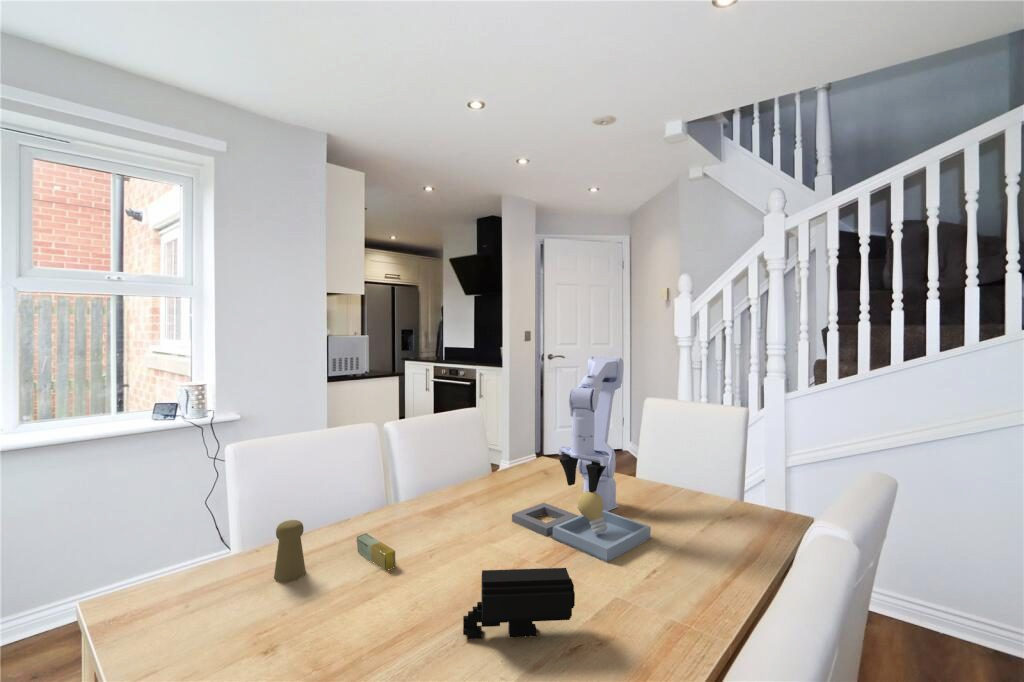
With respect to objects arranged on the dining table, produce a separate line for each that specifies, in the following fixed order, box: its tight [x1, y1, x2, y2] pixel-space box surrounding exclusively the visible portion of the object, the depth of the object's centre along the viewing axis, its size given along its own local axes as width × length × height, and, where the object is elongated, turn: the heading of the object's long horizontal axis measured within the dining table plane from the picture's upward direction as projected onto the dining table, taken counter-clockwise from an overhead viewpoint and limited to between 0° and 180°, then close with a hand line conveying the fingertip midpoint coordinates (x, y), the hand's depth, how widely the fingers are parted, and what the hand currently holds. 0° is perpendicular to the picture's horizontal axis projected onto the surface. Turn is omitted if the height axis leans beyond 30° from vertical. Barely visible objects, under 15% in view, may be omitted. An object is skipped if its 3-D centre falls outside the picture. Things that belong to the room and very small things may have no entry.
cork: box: [273, 519, 307, 583], centre depth 101 cm, size 6×6×11 cm
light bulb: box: [576, 491, 607, 534], centre depth 122 cm, size 6×6×10 cm
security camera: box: [462, 567, 576, 640], centre depth 83 cm, size 7×18×10 cm, turn 95°
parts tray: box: [552, 510, 652, 563], centre depth 120 cm, size 18×16×3 cm
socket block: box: [511, 502, 580, 538], centre depth 129 cm, size 12×12×2 cm
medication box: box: [356, 533, 397, 572], centre depth 108 cm, size 12×3×4 cm, turn 47°
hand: (581, 488), depth 125 cm, fingers open, 6 cm apart
